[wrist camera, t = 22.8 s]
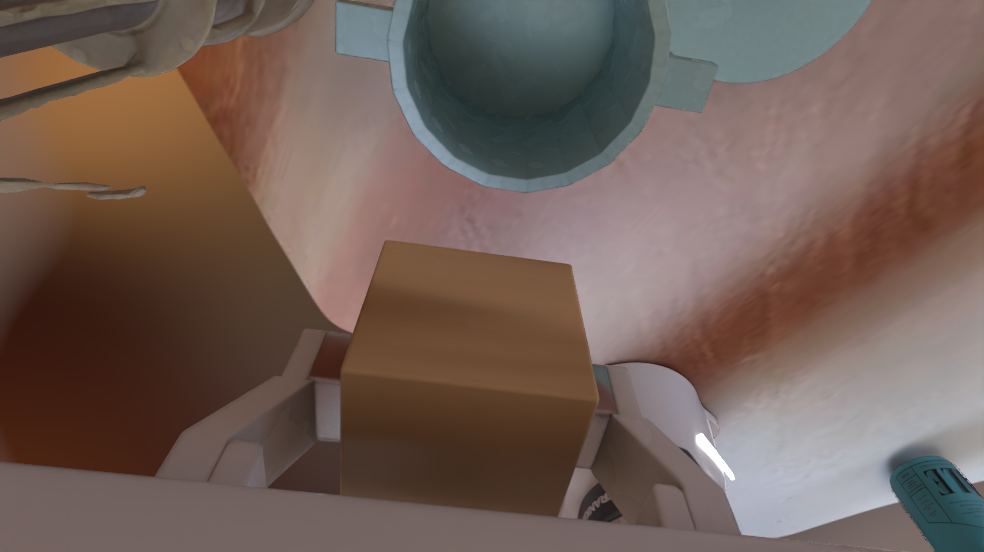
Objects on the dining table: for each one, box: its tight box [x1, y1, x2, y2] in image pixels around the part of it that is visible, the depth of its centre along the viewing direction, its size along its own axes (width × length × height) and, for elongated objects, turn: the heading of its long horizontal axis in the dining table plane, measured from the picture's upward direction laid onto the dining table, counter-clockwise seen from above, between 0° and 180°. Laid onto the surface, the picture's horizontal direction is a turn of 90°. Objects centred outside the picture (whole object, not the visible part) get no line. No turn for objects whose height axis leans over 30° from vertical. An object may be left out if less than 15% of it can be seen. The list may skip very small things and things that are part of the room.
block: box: [340, 240, 600, 517], centre depth 13 cm, size 4×4×4 cm
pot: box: [335, 0, 719, 193], centre depth 32 cm, size 14×19×12 cm
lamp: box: [0, 0, 313, 200], centre depth 23 cm, size 10×13×30 cm
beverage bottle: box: [890, 456, 984, 552], centre depth 51 cm, size 6×7×20 cm
